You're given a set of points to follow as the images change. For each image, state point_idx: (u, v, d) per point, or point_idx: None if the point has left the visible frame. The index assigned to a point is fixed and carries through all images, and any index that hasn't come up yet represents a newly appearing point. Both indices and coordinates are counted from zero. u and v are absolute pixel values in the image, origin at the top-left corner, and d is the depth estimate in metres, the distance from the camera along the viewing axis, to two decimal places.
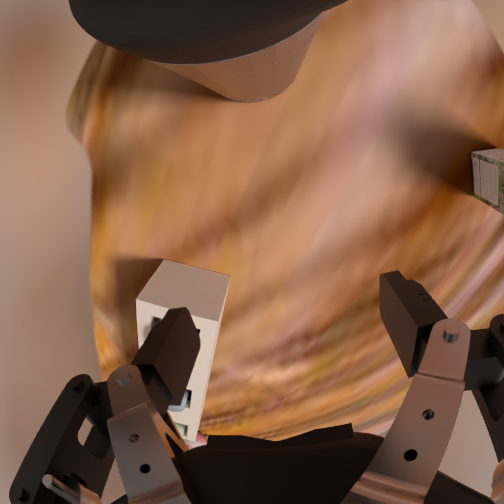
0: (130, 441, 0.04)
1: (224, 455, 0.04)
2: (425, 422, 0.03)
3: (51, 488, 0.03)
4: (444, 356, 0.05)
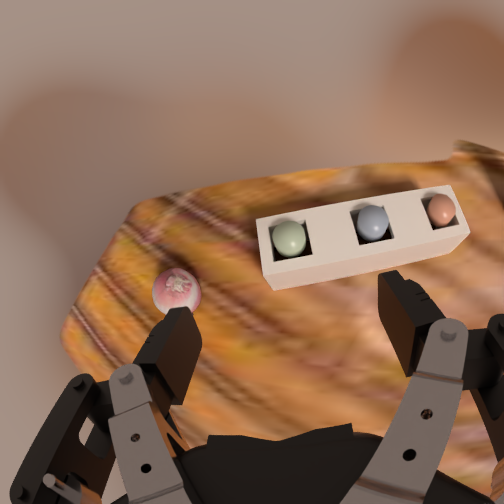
0: (131, 441, 0.04)
1: (224, 455, 0.04)
2: (424, 421, 0.03)
3: (52, 487, 0.03)
4: (442, 356, 0.05)
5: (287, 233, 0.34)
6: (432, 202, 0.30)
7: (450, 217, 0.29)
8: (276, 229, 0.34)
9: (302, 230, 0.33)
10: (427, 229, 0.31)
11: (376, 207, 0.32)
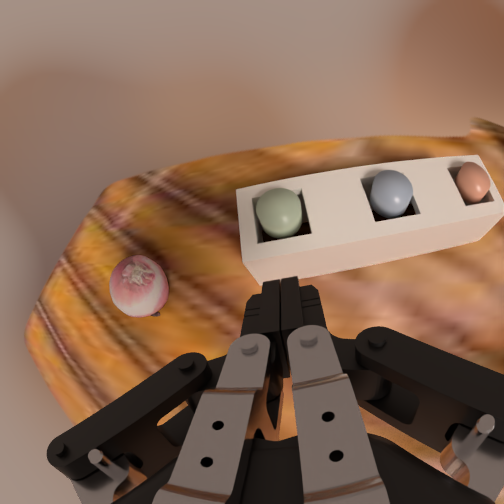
0: (212, 426, 0.05)
1: None
2: (329, 423, 0.04)
3: (93, 464, 0.04)
4: (312, 361, 0.06)
5: (276, 203, 0.24)
6: (463, 171, 0.21)
7: (485, 190, 0.20)
8: (261, 199, 0.25)
9: (297, 200, 0.24)
10: (459, 204, 0.21)
11: (395, 172, 0.23)
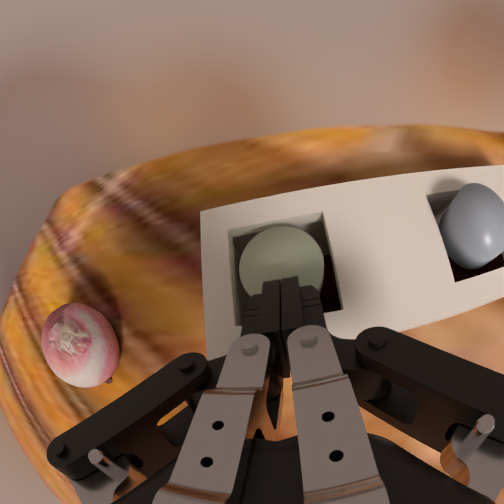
0: (213, 426, 0.05)
1: None
2: (329, 423, 0.04)
3: (93, 464, 0.04)
4: (312, 361, 0.06)
5: (277, 259, 0.13)
6: None
7: None
8: (250, 248, 0.13)
9: (317, 253, 0.13)
10: None
11: (485, 189, 0.10)
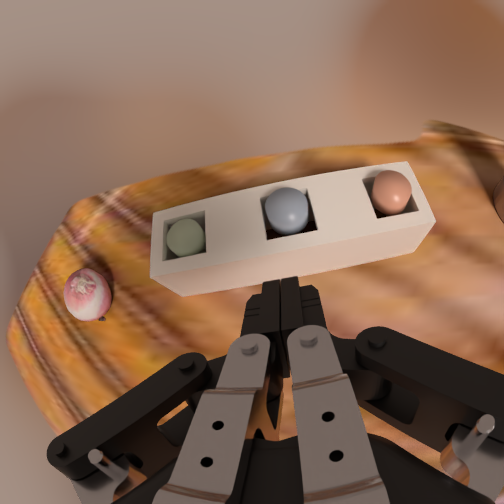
0: (212, 426, 0.05)
1: None
2: (329, 423, 0.04)
3: (93, 464, 0.04)
4: (312, 361, 0.06)
5: (182, 232, 0.28)
6: (376, 181, 0.24)
7: (402, 200, 0.23)
8: (172, 229, 0.29)
9: (198, 229, 0.28)
10: (369, 217, 0.25)
11: (292, 190, 0.26)
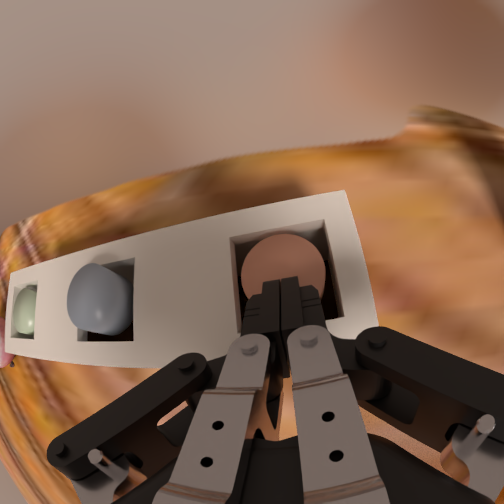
0: (213, 426, 0.05)
1: None
2: (329, 423, 0.04)
3: (93, 464, 0.04)
4: (312, 361, 0.06)
5: (21, 306, 0.17)
6: (246, 262, 0.13)
7: None
8: (17, 299, 0.17)
9: (31, 306, 0.17)
10: (221, 329, 0.13)
11: (98, 269, 0.14)
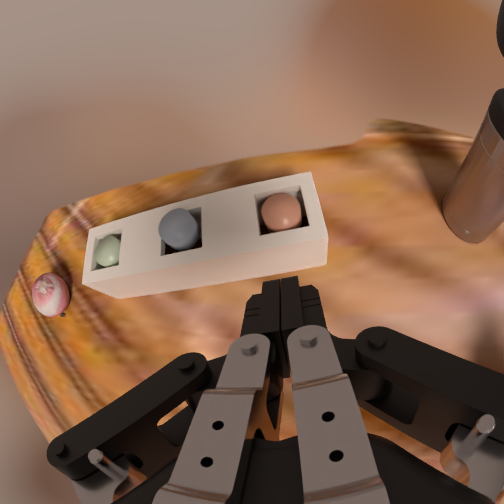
0: (213, 426, 0.05)
1: None
2: (329, 423, 0.04)
3: (93, 464, 0.04)
4: (312, 361, 0.06)
5: (105, 247, 0.31)
6: (263, 206, 0.28)
7: (286, 224, 0.27)
8: (99, 244, 0.32)
9: (116, 245, 0.31)
10: (251, 234, 0.27)
11: (182, 210, 0.28)
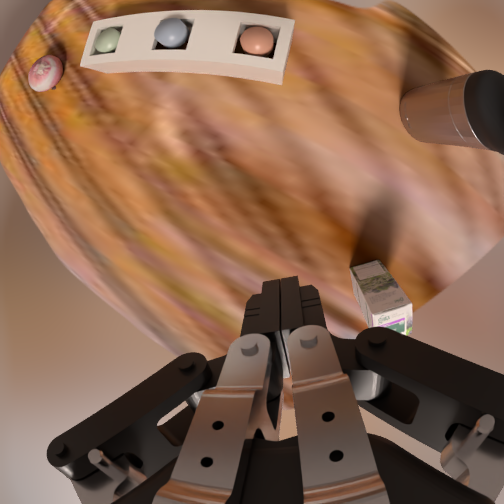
0: (213, 426, 0.05)
1: None
2: (329, 423, 0.04)
3: (93, 464, 0.04)
4: (312, 361, 0.06)
5: (105, 37, 0.25)
6: (244, 32, 0.25)
7: (256, 51, 0.26)
8: (100, 34, 0.25)
9: (115, 36, 0.25)
10: (226, 50, 0.26)
11: (177, 20, 0.23)
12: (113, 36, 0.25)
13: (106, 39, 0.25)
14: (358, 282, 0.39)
